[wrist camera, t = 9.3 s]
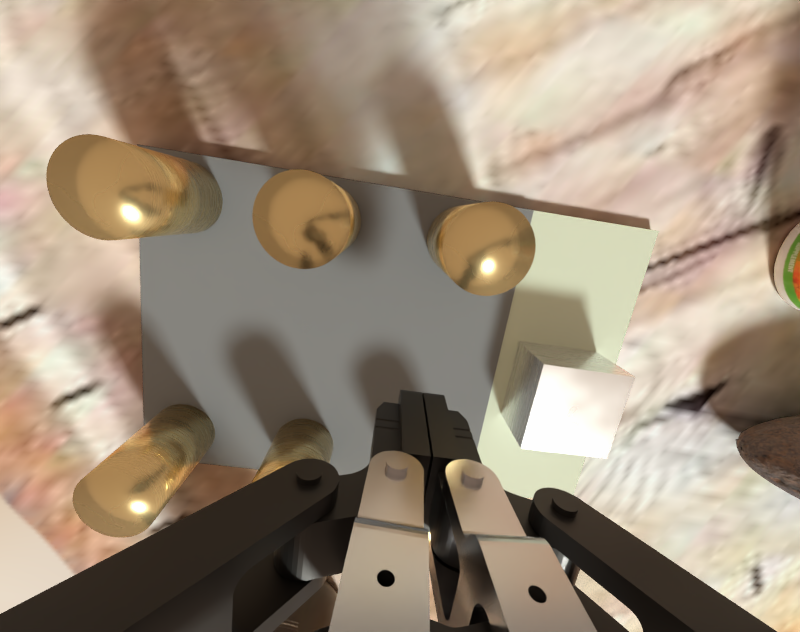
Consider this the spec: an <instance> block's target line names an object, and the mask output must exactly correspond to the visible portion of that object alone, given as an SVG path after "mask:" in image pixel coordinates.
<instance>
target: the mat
mask: <svg viewBox="0 0 800 632" xmlns="http://www.w3.org/2000/svg"><path fill="white" fill-rule="evenodd" d="M137 146H139V147H142V148H146V149H150V150H153V151H157V152H160V153H164V154H167V155H171V156H174V157H178V158H182V159H185V160H189V161H192V162H195V163H197V164H199V165H201V166H203V167H204V168H206V169H207V170H208V171H209V172H210V173H211V174H212V175H213V177H214V178H215V179H216V181H217V183H218V185H219V187H220V190H221V193H222V202H223V203H222V210H221V213H220V216H219V218H218V220H217V221H216V222H215V224H214V225H212V226H211V227H210V228H209V229H207V230H205V231H202V232H198V233H190V234H178V235H167V236H155V237H144V238H140V281H141V324H142V368H143V412H144V426H145V425H146V424H147V423H148V422H149V421H150V420H151V419H153V418H154V417H155V416H156V415H157V414H158V413H160V412H161V411H162V410H163V409H165V408H166V407H169V406H171V405H176V404H186V405H191V406H194V407H196V408H198V409H200V410H201V411H203V412H204V413H205V414H206V415H207V416H208V417H209V418H210V419H211V421H212V423H213V425H214V429H215V439H214V442H213V444H212V445H211V447H210V448H209V450H208V451H207V452H206V453H205V455H204V456H203V457H202V459H201V460H200V461H199V463H204V464H213V465H222V466H231V467H240V468H249V469H259V468H260V466H261V464H262V462H263V460H264V458H265V456H266V454H267V452H268V450H269V448H270V446H271V444H272V442H273V440H274V438H275V436H276V434H277V432H278V431H279V429H280V428H281V427H282V426H283V425H284V424H286V423H287V422H290V421H292V420H295V419H310V420H314V421H316V422H318V423H320V424H322V425H323V426H324V427H325V428H326V429H327V430H328V431H329V433H330V434H331V437H332V440H333V451H332V455H331V460H330V464H331V465H332V466H334V467H335V469H336V470H337V471H338V474H339V475H346V474H352V473H355V472H358V471H360V470H362V469H364V468H365V467H366V466H367V465H368V464H369V463H370V454H371V445H372V438H373V432H374V425H375V418H376V411H377V408H378V407H379V406H380V405H381V404H382V403H383V402H389V403H397V404H398V399H399V393H400V390H409V391H416V392H422V393H423V392H425V393H432V394H440V395H444V396H445V400H446V403H447V407H448V410H452V411H458V412H459V413H460V414H461V415H462V416H463V417H464V418H465V419H466V420H467V422H468V424H469V427H470V432H471V433H472V436H473V440H474V442H475V445H476V448H477V451H478V453H479V456H480V459H481V462H482V464H483V465H485V466H487V467H488V468H489V469H491V470H492V471H493V472H494V473H495V474H496V476H497V477H498V479H499V481H500V483H501V485H502V487H503V489H504V490H506V491H508V492H510V493H513V494H516V495H518V496H521V497H526V498H533V497H534V494H535V492H536V491H537V490H539V489H541V488H548V487H549V488H556V489H560V490H563V491H566V492H568V493H570V494H572V495H574V492H575V489H576V485H577V482H578V479H579V476H580V473H581V470H582V467H583V464H584V461H585V458H586V456H579V455H571V454H563V453H555V452H547V451H538V450H530V449H522V448H520V446H519V444H518V443H517V441H516V439H515V438H514V436H513V434H512V432H511V431H510V429H509V427H508V425H507V424H506V422H505V420H504V418H503V417H502V415H501V410H502V406H503V402H504V398H505V394H506V390H507V386H508V382H509V378H510V375H511V371H512V367H513V363H514V359H515V355H516V351H517V347H518V343H519V341H524V342H531V343H538V344H545V345H552V346H559V347H566V348H572V349H579V350H586V351H593V352H597V353H599V354H600V355H602V356H603V357H605V358H607V359H608V360H610V361H611V362H613V363H614V364H616V362H617V359H618V356H619V353H620V350H621V347H622V343H623V340H624V337H625V334H626V331H627V328H628V325H629V322H630V319H631V316H632V313H633V309H634V306H635V303H636V300H637V297H638V294H639V291H640V288H641V285H642V282H643V279H644V275H645V272H646V269H647V266H648V263H649V260H650V257H651V254H652V251H653V248H654V245H655V242H656V238H657V235H658V232H659V231H655V230H649V229H643V228H637V227H631V226H625V225H619V224H613V223H607V222H601V221H595V220H589V219H583V218H577V217H571V216H565V215H559V214H553V213H547V212H541V211H535V210H530V209H524V208H518V207H514V208H516V209H517V210H519V211H520V212H521V213H522V214H523V215H524V216H525V217H526V218H527V220H528V221H529V223H530V225H531V227H532V229H533V232H534V236H535V243H536V248H535V256H534V260H533V263H532V265H531V268H530V270H529V271H528V273H527V274H526V276H525V277H524V278H523V279H522V280H521V281H520V282H519V283H518V284H517V285H516V286H515V287H513V288H512V289H510V290H508V291H506V292H504V293H501V294H498V295H493V296H479V295H475V294H472V293H469V292H467V291H465V290H463V289H462V288H460V287H459V286H458V285H457V284H456V283H455V282H454V281H453V280H452V279H451V278H450V277H449V276H448V275H447V274H446V273H445V272H444V271H443V270H442V269H441V268H440V267H438V266H437V265H436V264H435V262H434V261H433V260H432V258H431V256H430V254H429V251H428V247H427V235H428V231H429V228H430V226H431V224H432V222H433V221H434V219H435V218H436V217H437V216H438V215H439V214H440V213H442V212H443V211H445V210H447V209H449V208H452V207H456V206H462V205H469V204H476V203H482V201H476V200H470V199H463V198H457V197H451V196H445V195H439V194H433V193H427V192H421V191H415V190H409V189H403V188H397V187H391V186H385V185H379V184H373V183H367V182H361V181H355V180H349V179H343V178H337V177H331V176H325V175H322V176H324V177H325V178H327V179H329V180H330V181H332V182H333V183H335V184H337V185H338V186H340V187H341V188H343V189H345V190H346V191H347V192H348V193H349V194H351V196H352V197H353V198H354V199H355V201H356V202H357V205H358V207H359V210H360V214H361V227H360V231H359V234H358V236H357V238H356V239H355V241H354V242H353V243H352V244H351V245H350V246H349V247H348V248H347V249H345V250H344V251H343V252H342V253H340V254H339V255H338V256H337V257H335V258H334V259H333V260H331V261H330V262H328V263H327V264H325V265H322V266H320V267H317V268H312V269H297V268H292V267H289V266H286V265H284V264H282V263H280V262H278V261H277V260H275V259H274V258H273V257H271V256H270V255H269V254H268V253H267V252H266V251H265V249H264V248H263V247H262V245H261V244H260V242H259V240H258V238H257V236H256V233H255V230H254V226H253V218H252V213H253V206H254V202H255V199H256V196H257V194H258V192H259V191H260V189H261V188H262V186H263V185H264V184H265V183H266V182H267V181H268V180H269V179H270V178H272V177H273V176H275V175H277V174H279V173H281V172H284V171H287V170H289V169H283V168H277V167H271V166H265V165H259V164H253V163H247V162H241V161H235V160H229V159H223V158H217V157H210V156H204V155H198V154H192V153H186V152H180V151H174V150H168V149H162V148H156V147H150V146H144V145H138V144H137Z"/></svg>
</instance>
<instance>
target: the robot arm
mask: <svg viewBox="0 0 800 632" xmlns="http://www.w3.org/2000/svg"><path fill="white" fill-rule="evenodd" d="M428 532H430V537H431V541H430V546H429V534H428ZM580 569H581V570H582V571H584V572H585V573H586V574H587V575H589V576H590V577H591V578H592V579H594V580H595V581H596V582H597V583H599V584H600V585H601V586H602V587H603V588H605V589H606V590H607V591H608V592H610V593H611V594H612V595H613V596H615V597H616V598H617V599H618V600H619V601H621V602H622V603H623V604H624V605H626V606H627V607H628V608H629V609H630V610H631V611H632V612H633V613H634V614H635V615H636V616H637V618H638V619H639V621H640V623H641V625H642V628H643V632H777V631H775V630H774V629H772V628H771V627H769V626H768V625H766V624H765V623H763V622H762V621H760V620H759V619H757V618H756V617H754V616H753V615H751V614H750V613H748V612H747V611H745V610H744V609H742V608H741V607H739V606H738V605H736V604H735V603H733V602H732V601H731V600H729V599H728V598H726V597H725V596H723V595H722V594H720V593H719V592H717V591H716V590H714V589H713V588H711V587H710V586H708V585H707V584H705V583H704V582H702V581H701V580H699V579H698V578H696V577H695V576H693V575H692V574H690V573H689V572H687V571H686V570H684V569H683V568H681V567H680V566H678V565H677V564H675V563H674V562H672V561H671V560H669V559H668V558H666V557H665V556H663V555H662V554H660V553H659V552H658V551H656V550H655V549H653V548H652V547H650V546H649V545H647V544H646V543H644V542H643V541H641V540H640V539H638V538H637V537H635V536H634V535H632V534H631V533H629V532H628V531H626V530H625V529H623V528H622V527H620V526H619V525H617V524H616V523H614V522H613V521H611V520H610V519H608V518H607V517H605V516H604V515H602V514H601V513H599V512H598V511H596V510H595V509H593V508H592V507H590V506H589V505H587V504H586V503H585V502H583V501H582V500H580V499H579V498H577V497H575V496H574V495H572V494H570V493H568V492H566V491H563V490H560V489H556V488H549V487H548V488H541V489H539V490H537V491H536V492H535V494H534V497H533V500H530V499H527V498H524V497H521V496H518V495H516V494H513V493H510V492H508V491H506V490H504V489H503V487H502V485H501V483H500V481H499V479H498V477H497V476H496V474H495V473H494V472H493V471H492V470H491V469H489V468H488V467H487V466H485V465H483V464H482V462H481V459H480V456H479V453H478V451H477V448H476V445H475V442H474V440H473V436H472V433H471V432H470V427H469V424H468V422H467V420H466V419H465V418H464V417H463V416H462V415H461V414H460V413H459V412H458V411H452V410H448V407H447V403H446V400H445V396H444V395H440V394H432V393H425V392H423V393H422V392H416V391H409V390H400V393H399V399H398V404H397V403H389V402H383V403H382V404H381V405H380V406H379V407H378V408H377V411H376V418H375V425H374V432H373V438H372V445H371V454H370V463H369V464H368V465H367V466H366V467H365V468H364V469H362V470H360V471H358V472H355V473H352V474H346V475H339V474H338V471H337V470H336V469H335V467H334V466H332V465H331V464H330V463H328V462H326V461H323V460H319V459H310V458H309V459H301V460H297V461H294V462H292V463H290V464H288V465H286V466H284V467H282V468H280V469H278V470H276V471H274V472H272V473H270V474H268V475H267V476H265V477H263V478H261V479H259V480H257V481H255V482H253V483H251V484H249V485H247V486H245V487H243V488H242V489H240V490H238V491H236V492H234V493H232V494H230V495H228V496H226V497H224V498H222V499H220V500H218V501H217V502H215V503H213V504H211V505H209V506H207V507H205V508H203V509H201V510H199V511H197V512H195V513H193V514H192V515H190V516H188V517H186V518H184V519H182V520H180V521H178V522H176V523H174V524H172V525H170V526H169V527H167V528H165V529H163V530H161V531H159V532H157V533H155V534H153V535H151V536H149V537H147V538H145V539H144V540H142V541H140V542H138V543H136V544H134V545H132V546H130V547H128V548H126V549H124V550H122V551H120V552H119V553H117V554H115V555H113V556H111V557H109V558H107V559H105V560H103V561H101V562H99V563H97V564H96V565H94V566H92V567H90V568H88V569H86V570H84V571H82V572H80V573H78V574H76V575H74V576H72V577H71V578H69V579H67V580H65V581H63V582H61V583H59V584H57V585H55V586H53V587H51V588H50V589H48V590H46V591H44V592H42V593H40V594H38V595H36V596H34V597H32V598H30V599H28V600H26V601H24V602H23V603H21V604H19V605H17V606H15V607H13V608H11V609H9V610H7V611H5V612H3V613H1V614H0V632H273V631H274V630H275V629H276V628H277V627H278V626H279V625H280V624H282V623H283V622H284V621H285V620H286V619H287V618H288V617H289V616H290V615H291V614H293V613H294V612H295V611H296V610H297V609H298V608H299V607H300V606H301V605H302V604H304V603H305V602H306V601H307V600H308V599H309V598H310V597H311V596H312V595H314V594H315V593H316V592H317V591H318V590H319V589H320V588H321V587H322V585H323V584H324V582H325V580H326V578H327V576H330V575H334V574H339V573H342V576H341V580H340V585H339V589H338V593H337V597H336V602H335V606H334V610H333V615H332V619H331V623H330V625H329V626H326V627H323V628H320V629H318V630H316V631H314V632H629V631H628V630H627V629H625V628H624V627H623V626H622V625H621V624H619V623H618V622H617V621H616V620H615V619H614V618H612V617H611V616H610V615H609V614H608V613H607V612H605V611H604V610H603V609H602V608H601V607H600V606H598V605H597V604H596V603H595V602H594V601H593V600H591V599H590V598H589V597H588V596H587V595H586V594H584V593H583V592H582V591H581V590H580V589H578V588H577V587H576V586H575V582H576V579H577V576H578V574H579V571H580ZM429 571H430V577H431V583H432V589H433V594H434V600H435V606H436V612H437V618H438V622H436V621H433V620H430V605H429Z"/></svg>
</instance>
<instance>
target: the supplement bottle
mask: <svg viewBox="0 0 800 632" xmlns="http://www.w3.org/2000/svg"><path fill="white" fill-rule="evenodd" d="M774 280H775V285H776V288H777V291H778V293H779V295H780V296H781V297H782V299H783V300H784V301H785V302H786V303H787V304H789V305H790V306H791V307H793V308H795V309H797V310H799V311H800V223H798V224H797V225H796V226H795V227H794V228H793V229H792V231H791V232H790V233H789V234H788V236H787V237H786V239H785V240H784V242H783V244H782V246H781V248H780V250H779V252H778V255H777V258H776V261H775V267H774Z"/></svg>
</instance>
